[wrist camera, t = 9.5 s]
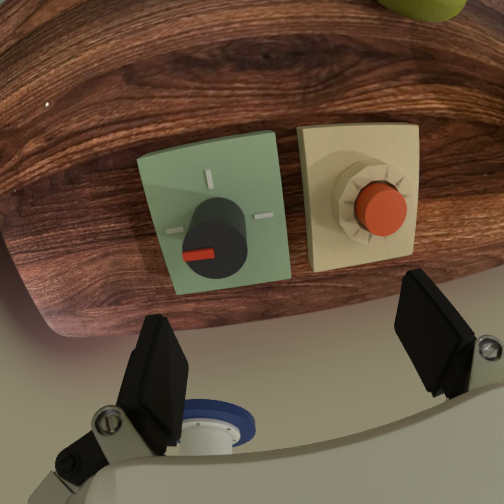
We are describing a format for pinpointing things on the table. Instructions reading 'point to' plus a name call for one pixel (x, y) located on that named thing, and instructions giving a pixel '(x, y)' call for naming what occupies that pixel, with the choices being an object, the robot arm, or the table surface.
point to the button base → (355, 189)
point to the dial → (216, 239)
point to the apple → (425, 8)
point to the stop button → (381, 209)
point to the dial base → (225, 186)
